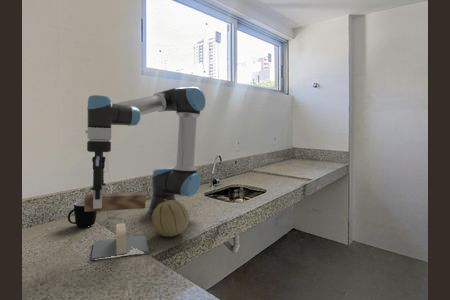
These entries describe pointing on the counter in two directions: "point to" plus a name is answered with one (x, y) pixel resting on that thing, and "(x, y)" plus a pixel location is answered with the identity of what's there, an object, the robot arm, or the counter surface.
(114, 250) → the fulcrum
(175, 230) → the cantaloupe
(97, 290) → the counter surface
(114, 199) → the beam
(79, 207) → the mug
